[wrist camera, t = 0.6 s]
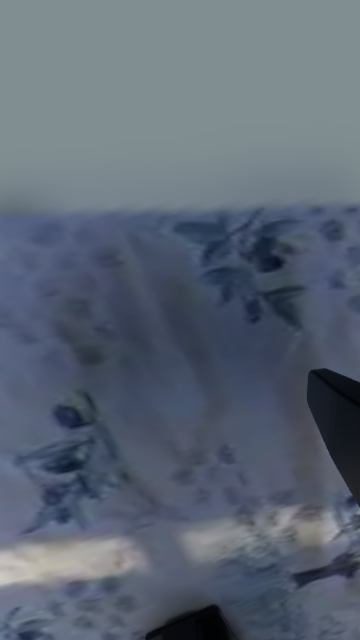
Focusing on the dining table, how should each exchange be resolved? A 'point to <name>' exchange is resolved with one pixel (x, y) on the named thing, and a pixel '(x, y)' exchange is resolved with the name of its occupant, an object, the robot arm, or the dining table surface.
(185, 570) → the dining table surface
